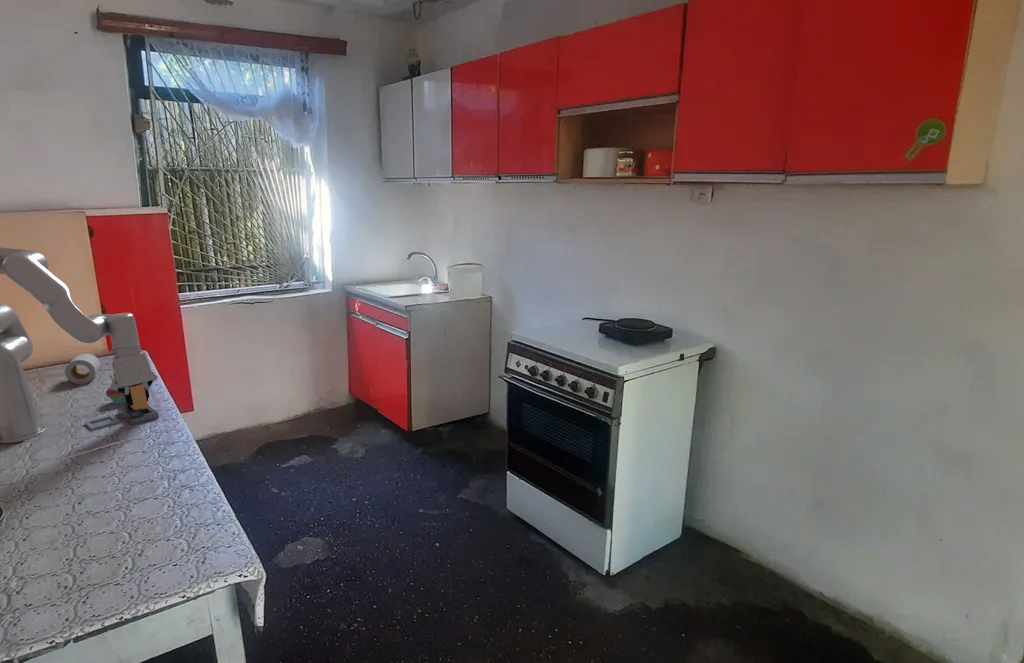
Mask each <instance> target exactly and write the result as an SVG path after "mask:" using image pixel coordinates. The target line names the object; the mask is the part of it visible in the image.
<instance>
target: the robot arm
mask: <svg viewBox="0 0 1024 663" xmlns="http://www.w3.org/2000/svg"><path fill="white" fill-rule="evenodd" d="M0 275H5V276H7V277H8V278H9V279H11V281H13V282H14V283H15V284H16V285H18V286H19V287H20V288H22V289H23V290H25V291H26V292H27V293H28V294H30V295H31V296H32V297H33V298H34V299H36V300H37V301H38V302H40V304H42V305H43V307H44V308H45V310H46V312H47V313H48V314H49V316H50V317H51V319H52V320H53V322H55V324H57V326H59V327H60V328H61V329H62V330H63V331H65V332H66V333H67V334H68V335H70V336H71V337H72V338H74V339H75V340H77V341H79V342H81V343H84V344H93V343H94V344H95V343H96V342H98V341H100V340H102V339H103V338H104V337H106V336H110V340H111V345H112V347H111V348H112V349H111V350H108V351H107V353H108V355H111V356H113V357H112V371H113V372H112V373H113V379H114V380H113V382H112V381H111V384H110V385H109V388H110V389H112V390H116V391H119V392H121V393H123V394H124V395H125V400H126V403H128V404H129V405H131V406H132V405H133V402H132V397H131V394H130V392H129V386H131V385H135V384H140V383H143V384H144V389H145V394H146V399H147V402H150V400H149V398H151V397H150V393H149V392H150V391H149V389H150V387H151V386H152V384H153V383H154V382H156V381H157V379H158V376H157V374H155V373H154V372H153V370H152V368H151V365H150V362H149V359H148V356H147V355H146V352H145V351H143V350H142V347H141V343H140V337H139V333H138V328H137V323H136V318H135V316H134V314H133V313H131V312H120V313H119V312H118V313H114V314H112V313H111V314H107V313H95V314H91V315H89V316H87V315H86V314H84V313H83V312H82V311H81V310H80V309H79V308H77V306H76V305H75V304H74V302H73V300H72V298H71V292H70V288H69V286H68V285H67V284H66V283H65V282H63V281H62V280H60V279H59V278H58V277H57V276H56V275H54V273H52V272H51V271H50V270H49V261H48V260H47V258H46V257H45V256H44V255H43V254H42V253H40V252H38V251H36V250H30V249H23V248H21V249H20V248H19V249H18V248H9V247H0ZM27 332H28V331H26V329H25V327H24V325H23V323H22V321H21V319H20V317H19V316H18V314H17V312H16V311H15V310H14V309H13V308H12V307H10V306H9V305H7V304H4V303H1V302H0V444H14V443H20V442H24V441H25V440H26V441H27V440H29V439H33V438H35V437H38V436H40V435H42V434H44V433H45V432H46V431H47V430H48V427H47V425H45V424H41V423H40V421H39V418H38V413H37V410H36V405H35V403H34V401H35V400H34V398H33V394H32V391H31V386H30V382H29V379H28V377H27V374H26V372H25V371H24V369H23V367H22V365H21V364H22V363H23V362H25V361H26V360H28V359H29V358H30V357H31V355H32V354H33V351H34V349H33V348H34V346H33V343H32V341H31V338H30V336H29V335H28V333H27ZM117 384H118V386H120V387H117ZM121 387H122V388H121Z"/></svg>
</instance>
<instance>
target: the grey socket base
mask: <svg viewBox="0 0 1024 663" xmlns="http://www.w3.org/2000/svg"><path fill="white" fill-rule="evenodd" d="M122 397H123V402H124V403H123V406H120V407H116V411H117V415H119V416H120V417H122V419H124V420H125V421H126V422H128V423H129V424H130V425H131V426H136V425H140V424H143V423H146V422H149V421H153V420H157V419H160V415H159V412H158V411H157V410H156V409H154V408H153V407H151V406H150V405H149V404H148V407H144V408H140V409H137V410H134V409H133V408H131V405H129V404H128V403H126V400H125V395H124V394H122Z"/></svg>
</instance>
